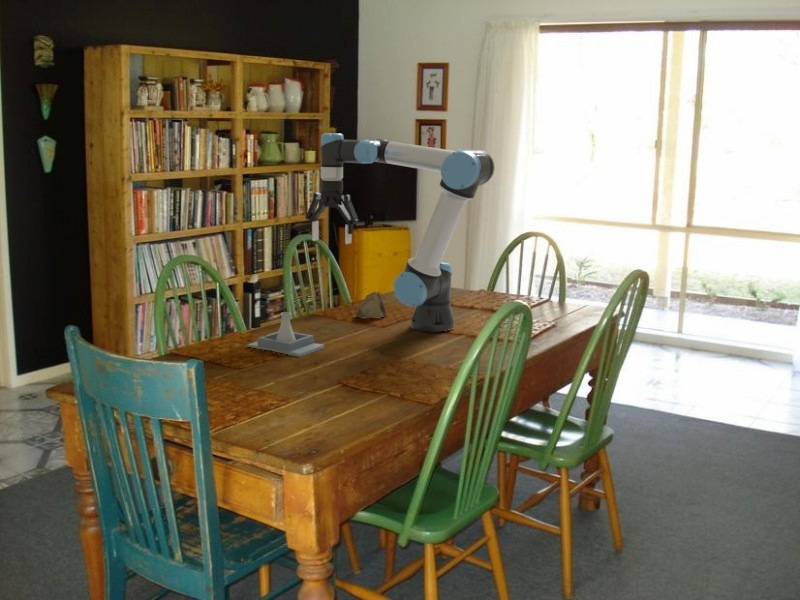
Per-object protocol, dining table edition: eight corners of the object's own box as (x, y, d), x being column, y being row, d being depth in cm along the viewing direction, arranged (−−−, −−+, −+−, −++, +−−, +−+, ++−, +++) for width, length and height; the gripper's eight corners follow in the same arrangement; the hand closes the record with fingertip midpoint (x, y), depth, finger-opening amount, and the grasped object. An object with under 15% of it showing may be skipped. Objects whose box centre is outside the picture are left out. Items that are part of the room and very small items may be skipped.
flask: (293, 348, 282) (293, 316, 280) (270, 346, 284) (270, 314, 282) (300, 342, 289) (300, 311, 287) (278, 341, 291) (278, 310, 289)
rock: (348, 313, 327) (373, 312, 322) (353, 291, 330) (378, 290, 326) (362, 326, 335) (386, 325, 331) (366, 305, 339) (390, 304, 335)
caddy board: (324, 347, 287) (324, 337, 287) (299, 356, 276) (299, 345, 276) (273, 339, 297) (273, 328, 296) (247, 347, 286) (247, 336, 285)
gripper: (369, 180, 307) (368, 243, 312) (308, 177, 319) (308, 237, 324) (357, 182, 301) (356, 246, 305) (295, 178, 313) (295, 240, 317)
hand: (331, 242), depth 314 cm, fingers open, 13 cm apart
